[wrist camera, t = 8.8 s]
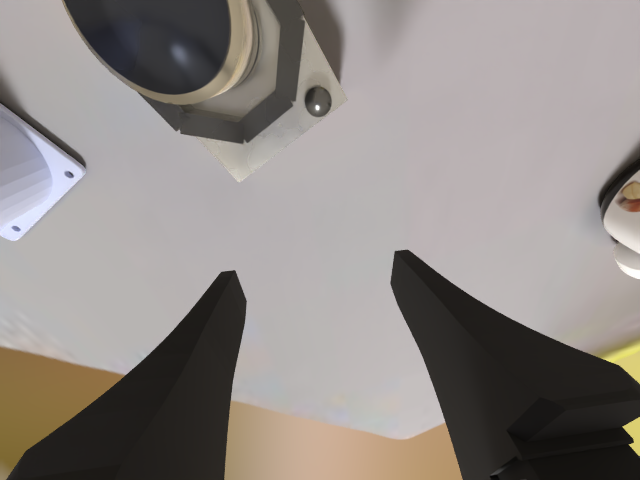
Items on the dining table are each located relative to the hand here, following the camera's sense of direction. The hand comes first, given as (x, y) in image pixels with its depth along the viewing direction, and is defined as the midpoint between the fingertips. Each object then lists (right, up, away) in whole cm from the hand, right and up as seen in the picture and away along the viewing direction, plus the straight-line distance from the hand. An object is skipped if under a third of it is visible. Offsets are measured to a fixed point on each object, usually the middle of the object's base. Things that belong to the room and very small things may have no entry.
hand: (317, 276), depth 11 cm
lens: (-5, +11, 0) cm, 12 cm away
